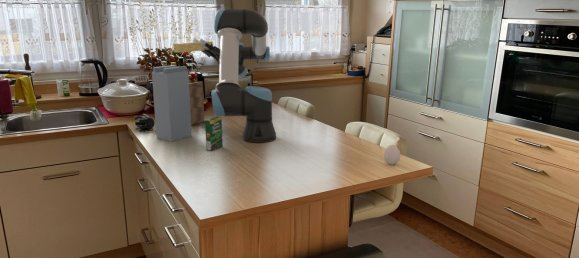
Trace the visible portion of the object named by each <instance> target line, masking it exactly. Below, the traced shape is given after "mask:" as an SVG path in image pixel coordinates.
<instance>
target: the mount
mask: <svg viewBox="0 0 579 258" xmlns="http://www.w3.org/2000/svg"><path fill="white" fill-rule="evenodd" d="M151 79H152V80H151V81H152V95H153V103H154V104H153V107H154V122H155V135H156V139H160V140H163V141H167V142H170V143H172V142H174V141H178V140H182V139H185V138H189V137H192V125H191V113H190V94H189V80H190V78H189V70H188V69H187V66H185V65H182V66H177V65H176V64H173V65H165V66H155V67H152V71H151Z"/></svg>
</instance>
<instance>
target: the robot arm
mask: <svg viewBox="0 0 579 258" xmlns="http://www.w3.org/2000/svg"><path fill="white" fill-rule="evenodd" d="M213 26H214V33H215V34H216V35H217V37H218V39H220V41H219V43H220V44H219V45H220V46H219V47H220V48H219V47H217V46H216V45H214V44H211V45H210V44H208V43H207V42H206V41H205V39H203V38H200V39H197V38H193V40H192V42H199V44H200V45H202V46H203V47H205V48H206V49H207V50H203V51H200V52H201V53H203V55H204V54H205V56H207V57H208V58H212V59H214V60H216V63H217V65H218V66H219V67H218V68H219V71H218V72H219V73H218V83H217V84H216V85H215V88H214V89H212V90H211V94H210V95H211V102H212V108H213V112H214V115H216V116H218V117H245V120H246V121H245V126H244V129H243V133H242V140H243V141H245V142H249V143H268V142H273V141H275V140H276V139H277V132H276V130H275V127H274V123H273V95H272V94H273V93H272V91H271V90H270V88H266V87H262V86H255V85H250V86H249V85H248V86H246V87H245V89H242V86H241V84H239V79H242V78H244V77H245V76H247V74H248V68H247V66H246V65H245V64H244V63H245V61H246V60H247V61H248V60H249V61H251V60H252V61H253V60H254V61H266V60H270V58H271V56H270V54H271V52H270V49H271V47H270V46H267V33H268V30H269V24H268V22H267V20H266V19H265V17H264V16H263V14H261V13H260V12H258V11H256V10H254V9H251V8H233V9H232V8H230V9H229V8H220V9H218V10H216V12H215V17H214V24H213ZM243 35H251V45H249V46H245V44H244V43H243V42H242V41H241V42H240V40H241V39H242V38H243ZM208 49H209V50H208Z"/></svg>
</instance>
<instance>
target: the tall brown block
mask: <svg viewBox="0 0 579 258" xmlns="http://www.w3.org/2000/svg"><path fill="white" fill-rule="evenodd" d="M189 94H190V113H191V126H192V125H197V124H199V123H205V105H204V104H205V103H204V82H203V81H195V82H192V80H191V79H189Z"/></svg>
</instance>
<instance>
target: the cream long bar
mask: <svg viewBox="0 0 579 258" xmlns="http://www.w3.org/2000/svg"><path fill="white" fill-rule="evenodd" d="M206 42H207V43H208V44H210V45H211V44H213V41H208V40H207V41H206ZM213 45H214V44H213ZM172 48H173V53H178V54H179V53H189V52H190V53H191V52H201V51H203V50H207V49H206V48H205V47H203V46H202V45H200V44H199V42H193V41H192V42H191V41H190V42H177V43H176V42H175V43H173V44H172ZM208 50H209V49H208Z"/></svg>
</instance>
